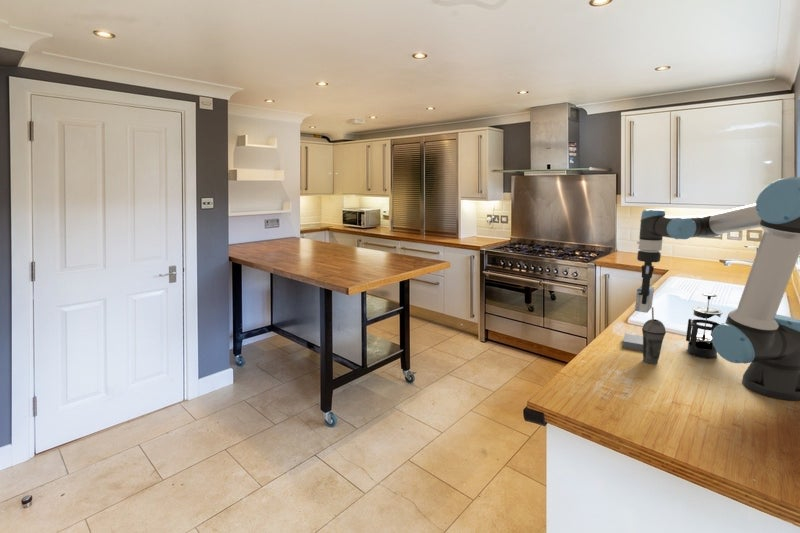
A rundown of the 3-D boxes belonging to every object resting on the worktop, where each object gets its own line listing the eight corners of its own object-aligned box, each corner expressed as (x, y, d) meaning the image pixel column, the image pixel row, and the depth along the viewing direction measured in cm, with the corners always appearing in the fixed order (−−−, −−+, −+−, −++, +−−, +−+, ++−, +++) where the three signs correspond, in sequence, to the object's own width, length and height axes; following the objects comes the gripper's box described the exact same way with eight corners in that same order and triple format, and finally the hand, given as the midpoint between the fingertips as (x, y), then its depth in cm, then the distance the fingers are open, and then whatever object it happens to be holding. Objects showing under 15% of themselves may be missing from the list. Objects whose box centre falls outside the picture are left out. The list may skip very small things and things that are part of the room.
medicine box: (639, 306, 170) (641, 285, 168) (651, 308, 167) (654, 286, 166) (634, 311, 164) (636, 288, 162) (647, 313, 161) (650, 290, 160)
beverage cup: (665, 366, 149) (672, 311, 145) (642, 364, 151) (648, 310, 147) (657, 358, 156) (663, 305, 152) (635, 356, 158) (641, 304, 154)
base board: (655, 354, 161) (656, 346, 161) (622, 348, 167) (623, 341, 166) (655, 345, 170) (656, 338, 169) (624, 340, 175) (624, 333, 175)
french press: (725, 358, 156) (734, 296, 152) (704, 360, 154) (713, 298, 150) (696, 346, 167) (704, 289, 163) (676, 348, 165) (683, 290, 161)
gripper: (639, 246, 172) (633, 301, 176) (636, 253, 154) (630, 314, 158) (661, 247, 168) (655, 303, 172) (661, 255, 150) (654, 317, 155)
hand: (643, 308), depth 165 cm, fingers closed on medicine box, 8 cm apart
